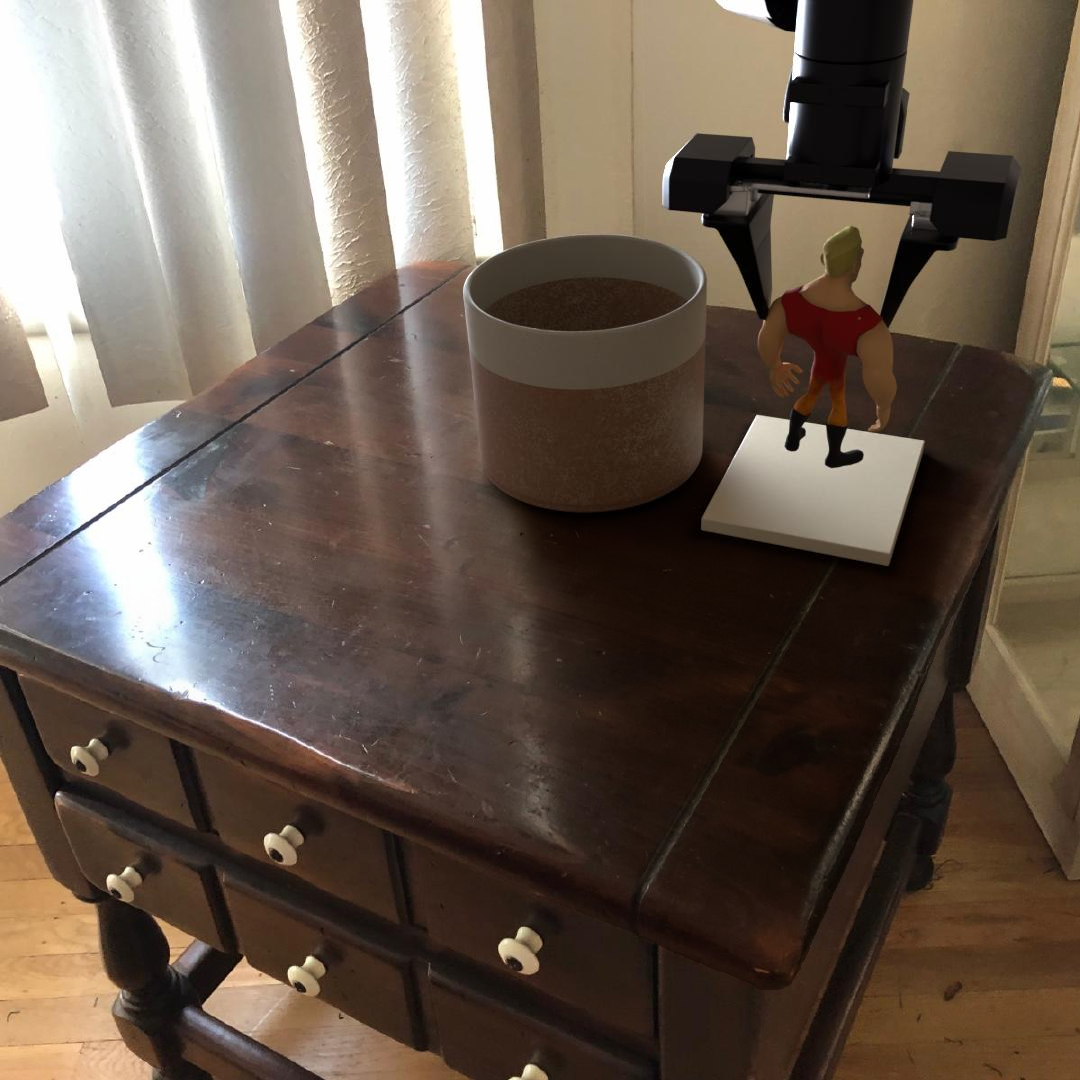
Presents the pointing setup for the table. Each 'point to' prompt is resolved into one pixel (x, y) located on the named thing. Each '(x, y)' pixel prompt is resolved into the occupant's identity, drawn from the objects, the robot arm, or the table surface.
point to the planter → (588, 369)
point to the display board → (816, 492)
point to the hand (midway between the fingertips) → (823, 324)
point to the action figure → (831, 345)
